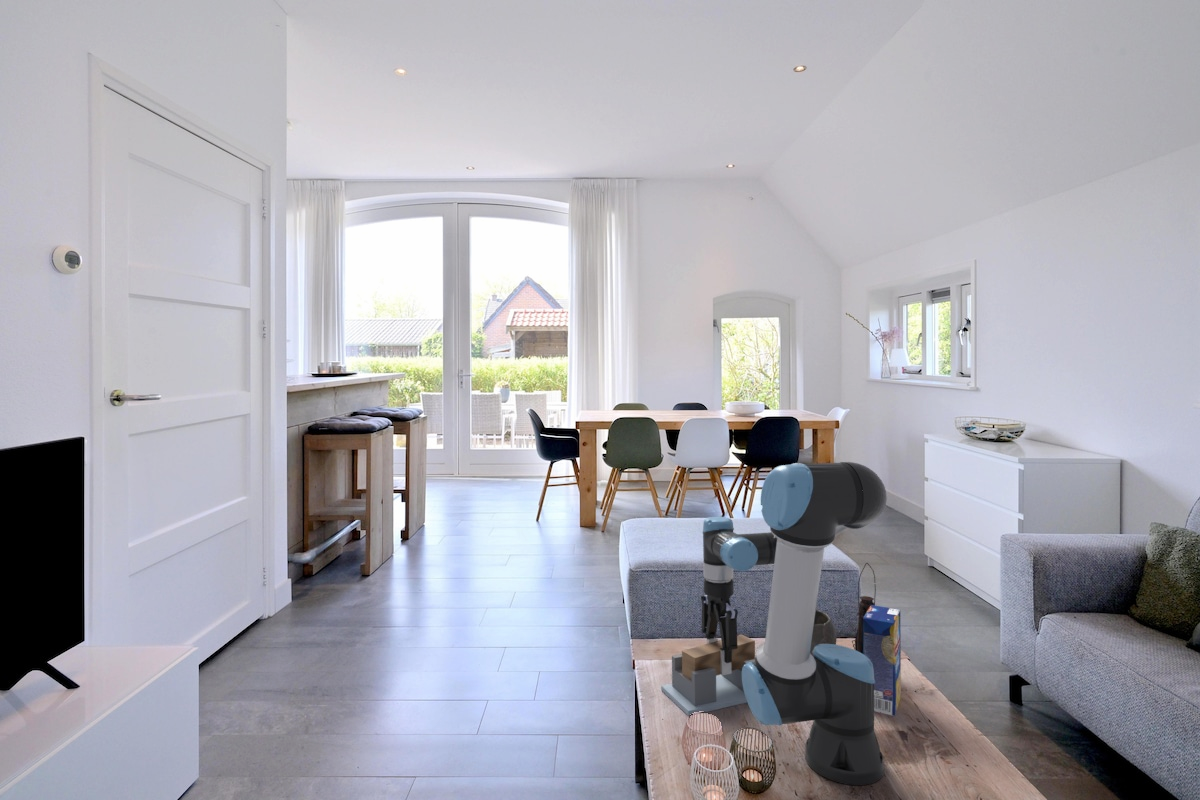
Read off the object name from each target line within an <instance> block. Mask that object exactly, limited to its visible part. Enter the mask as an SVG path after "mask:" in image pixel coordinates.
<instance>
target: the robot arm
mask: <svg viewBox="0 0 1200 800" xmlns="http://www.w3.org/2000/svg"><path fill="white" fill-rule="evenodd" d="M887 497H888V496H887V490H886V486H885V485H884V483H883V481H882V479H881V477H880V476H878V474H877V473H876V472H874V471H873V469H871V468H870V467H868V466H866V465H863V464H860V463H857V462H851V461H842V462H841V461H840V462H816V463H815V462H814V463H813V462H812V463H802V462H795V463H794V462H793V463H791V464H785V465H784V464H783V465H782V464H781V465H778V466H776V467H774V468H773V469H772V470H771V471H769V473H768V474H767V475H766V477H765V479H764V482H763V484H762V489H761V492H760V506H761V508H762V509H761V514H762V517H763V520H764V522H765V524H767V526H768V527H770V528H769V530H770V532H759V533H758V532H756V533H755V532H754V533H739V534H738V533H736V532H734V530H735V529H734V522H733V520H732V519H731V518H729V517H725V516H708V517H707V518H705V519H704V520H703V523H702V524H703V526H702V542H703V543H702V547H703V548H702V549H703V550H702V552H703V555H702V556H703V564H702V565H703V570H702V571H703V572H702V573H703V578H704V579H703V593H704V595H701V596H700V602H701V633H702V634H705V638H706V644H709V643H712V642H716V641H719V640H718V638H717V637H718V636H719V635H718V633H717V629H718V627H719V632H720V633H719V634H720V640H721V641H722V647H723V648H720V658H721V675H727V674H731V662H732V650H733V649H737V648H738V646H737V635H738V622H737V621H738V620H737V619H738V614H739V612H738V609H733V607H732V605H731V601H730V600H731V599H730V598H731V597H732V596H733V595H734V591H735V590H734V588H735V587H734V584H735V583H734V579H733V578H734V570H736V571H737V572H747V571H749V570H751V569H753V568H754V567H755V566H756V567H757V566H765V565H766V566H767V565H773V572H772V581H771V589H770V595H769V596H770V597H769V606H768V614H767V624H766V631H765V632H766V633H765V638H764V639H765V641H764V642H763V643H761V644H760V645H758V646H757V648H756V649H755V662H753V663H752V662H748V663H746V664H745V665H744V666H743V668H742V684H743V689H744V693H745V696H746V700H747V704H748V707H749V710H750V711H751V713H752V715H753V717H754V719H756V721H758V723H760V724H762V725H764V726H783V725H788V724H794V723H795V724H796V723H802V722H803V723H804V722H810V721H813V722H812V724H811V727H810V728H811V729H810V732H809V736H808V738H807V740H806V742H805V749H804V750H805V751H804V752H805V754H804V755H805V756H804V757H805V761H806V763H807V764H808V766H809V767H810V768H811V769H812V770H813V771H814V772H815V773H817V774H818V775H820V776H821V777H824V778H825V779H828V780H830V781H833V782H835V783H836V782H837V783H839V784H843V785H852V786H865V785H870V784H874V783H876V782H878V781H880V780H881V779H882V777H883V776H884V774H885V763H884V762H885V760H884V756H883V753H882V751H881V748H880V744H879V741H878V737H877V735H876V732H875V711H874V683H875V679H874V670H873V664H872V662H871V661H870V659H869V658H868V657H866V656H865V655H864V654H862V653H860V652H858V651H856V650H854V648H850V647H847V646H843V645H839V644H836V645H835V644H819V645H817V646H815V647H814V650H813V655H814V656H812V655H811V654H810V648H811V641H812V634H813V626H814V619H815V612H816V610H817V603H818V597H819V589H820V582H821V581H820V580H821V573H822V566H823V560H824V552H825V549H826V548H827V547H829V546H831V545H832V544H833V543H834V541H835V537H837V536H838V535H840V534H842V533H844V532H845V531H847V530H850V529H851V530H858V529H862V528H864V527H865V526H867V525H869V524H871V523H873V522H875V521H876V520H877V519H878V518H879V517H881V516H882V514H883V512H884V511H885V508H886V505H887V499H888V498H887Z"/></svg>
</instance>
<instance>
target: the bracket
mask: <svg viewBox="0 0 1200 800" xmlns="http://www.w3.org/2000/svg"><path fill="white" fill-rule="evenodd" d="M748 662H752V663H753V662H755V659H753V660H748V661H744V665H745V664H746V663H748ZM691 673H692V680H690V679H689V678H687V677H685V676H684V675H682V653H680V654H674V655H671V683H667V684H663V685H661V686H660V689H661V690H660V691H662V693H663V694H664V695H666V696H667V697H668V698H669V699H670V700H671V701H672V702H673V703H674V704H675V705H676V706H677V707H679V709H681V710H682V711H683V713H684V714H686V715H687V716H688V717H690V716H689V715H690V714H692V713H694V712H699V711H705V712H704V713H707V712H708V713H709V712H711V711H715V710H717V711H718V710H719V709H720V710H721V709H724V708H730V707H733V706H739V705H743V704H748V702H747V700H746V696H745V693H744V689H743V684H742V668H739V669H736V670H733V671H731V674H727V675H721V674H720V675H717V676H716V669H714V668H708V669H703V670H698V671H693V672H691Z"/></svg>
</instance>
